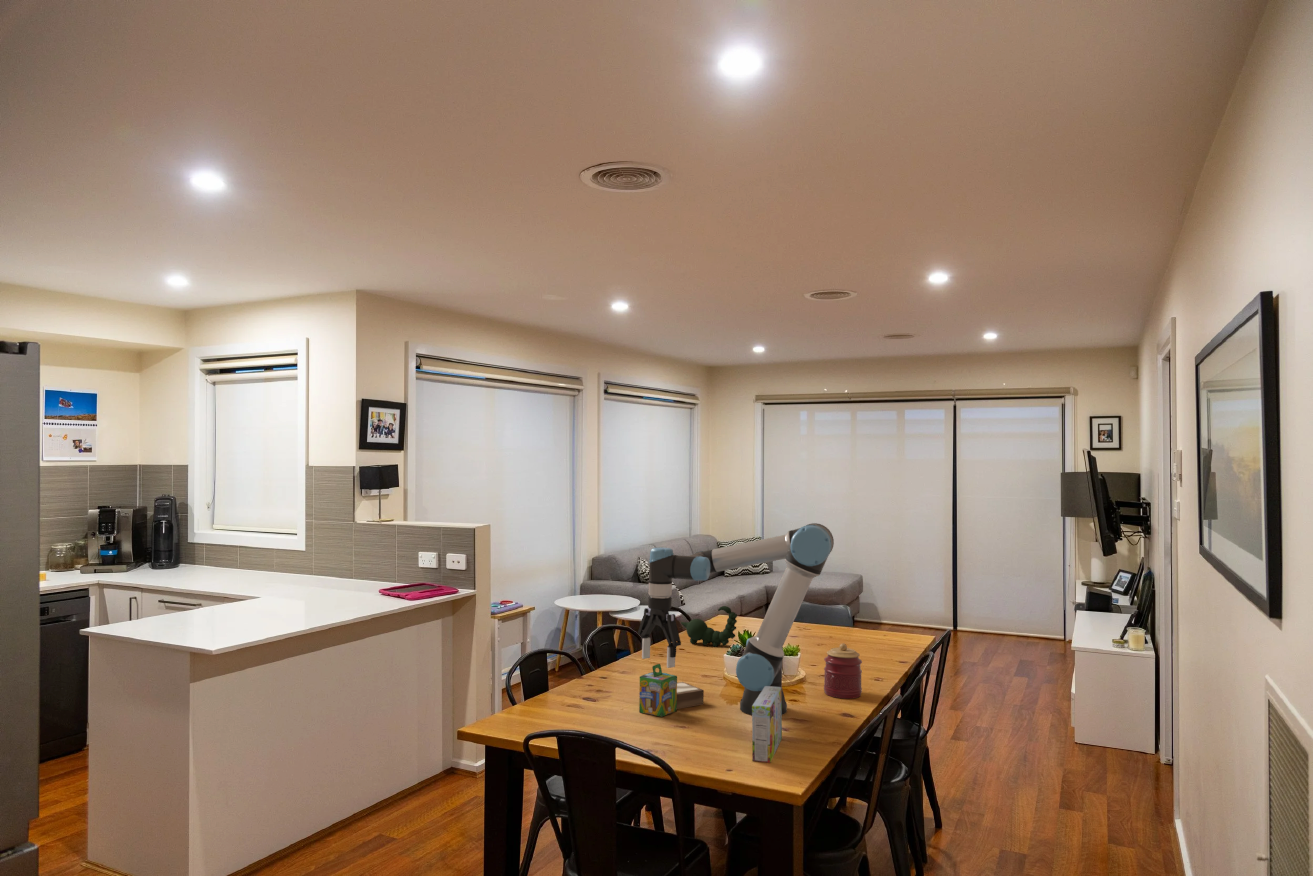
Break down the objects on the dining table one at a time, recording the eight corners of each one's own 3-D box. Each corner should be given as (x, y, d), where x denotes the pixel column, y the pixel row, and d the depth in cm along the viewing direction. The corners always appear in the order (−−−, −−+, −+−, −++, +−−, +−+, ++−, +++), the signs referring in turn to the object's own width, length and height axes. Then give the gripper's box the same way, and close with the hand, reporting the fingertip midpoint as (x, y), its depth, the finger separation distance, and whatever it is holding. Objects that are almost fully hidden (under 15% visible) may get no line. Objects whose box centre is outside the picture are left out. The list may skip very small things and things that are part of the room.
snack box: (763, 737, 240) (764, 685, 241) (782, 739, 239) (783, 686, 239) (750, 761, 220) (751, 704, 221) (771, 764, 219) (772, 706, 219)
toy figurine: (735, 649, 364) (682, 639, 372) (740, 606, 364) (686, 597, 372) (730, 653, 355) (675, 643, 363) (735, 609, 355) (680, 600, 363)
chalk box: (661, 718, 257) (662, 670, 257) (637, 712, 262) (638, 665, 262) (677, 711, 264) (678, 664, 265) (654, 706, 269) (655, 660, 270)
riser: (703, 705, 272) (703, 689, 273) (673, 710, 266) (673, 694, 266) (682, 696, 282) (682, 681, 283) (653, 701, 276) (653, 685, 276)
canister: (832, 687, 297) (833, 638, 297) (867, 693, 289) (867, 643, 290) (817, 695, 286) (818, 644, 287) (853, 701, 279) (853, 649, 279)
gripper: (693, 601, 256) (691, 669, 256) (647, 589, 277) (645, 653, 276) (674, 603, 252) (672, 672, 251) (628, 591, 272) (626, 655, 271)
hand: (658, 662), depth 264 cm, fingers open, 13 cm apart
